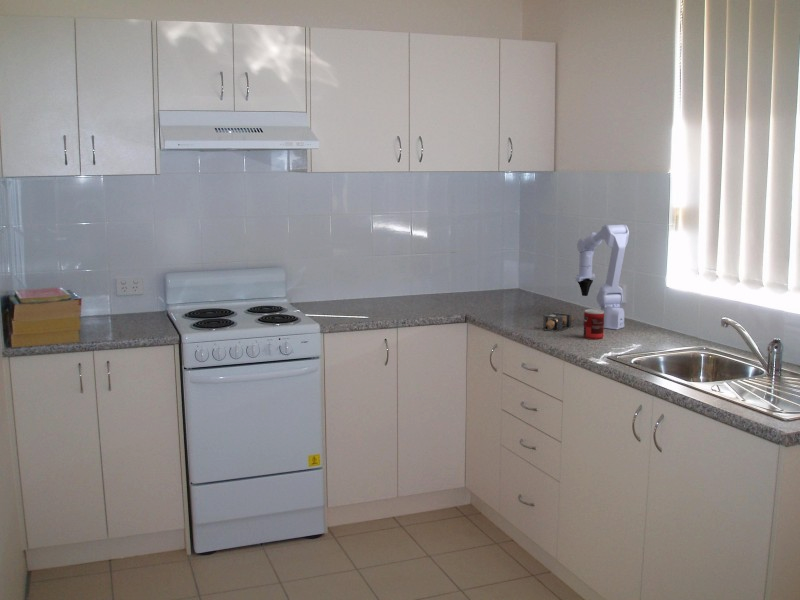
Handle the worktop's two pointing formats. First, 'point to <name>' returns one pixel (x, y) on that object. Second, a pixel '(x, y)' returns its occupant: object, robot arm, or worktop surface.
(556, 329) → the firebox
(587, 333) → the canned food
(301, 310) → the worktop surface
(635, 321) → the worktop surface
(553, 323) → the tube
